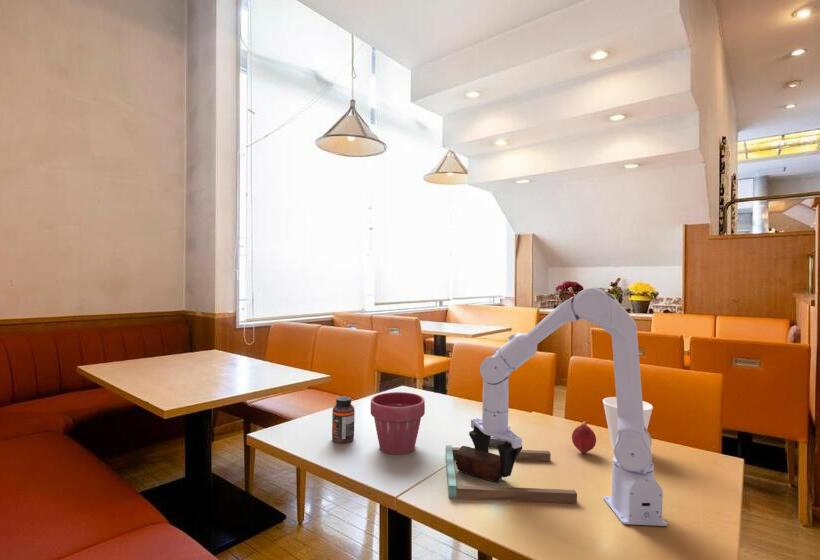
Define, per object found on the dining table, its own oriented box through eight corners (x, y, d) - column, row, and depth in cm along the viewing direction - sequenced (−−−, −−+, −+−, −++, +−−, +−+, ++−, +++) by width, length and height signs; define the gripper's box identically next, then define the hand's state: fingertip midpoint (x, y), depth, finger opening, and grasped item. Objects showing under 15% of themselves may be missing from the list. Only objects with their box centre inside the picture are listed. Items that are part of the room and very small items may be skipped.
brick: (456, 471, 100) (454, 453, 99) (463, 462, 103) (462, 444, 102) (500, 484, 94) (498, 465, 93) (506, 474, 97) (505, 455, 96)
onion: (598, 458, 108) (598, 427, 108) (573, 456, 109) (574, 425, 109) (593, 449, 114) (593, 419, 114) (569, 447, 115) (570, 417, 115)
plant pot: (366, 439, 118) (366, 392, 118) (415, 435, 122) (416, 390, 122) (374, 461, 104) (375, 408, 104) (430, 456, 108) (431, 405, 108)
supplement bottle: (327, 438, 118) (328, 397, 118) (346, 433, 122) (347, 393, 122) (338, 445, 114) (339, 402, 114) (358, 440, 117) (358, 398, 117)
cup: (624, 461, 107) (625, 411, 107) (591, 443, 118) (592, 398, 118) (663, 457, 110) (664, 408, 110) (627, 439, 121) (629, 395, 121)
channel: (576, 503, 87) (577, 491, 87) (448, 498, 88) (448, 485, 88) (540, 446, 116) (540, 436, 116) (444, 442, 117) (444, 433, 117)
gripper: (532, 415, 94) (531, 477, 94) (487, 398, 106) (486, 453, 106) (508, 420, 90) (506, 485, 90) (464, 402, 102) (463, 459, 103)
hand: (494, 468), depth 98 cm, fingers open, 7 cm apart
